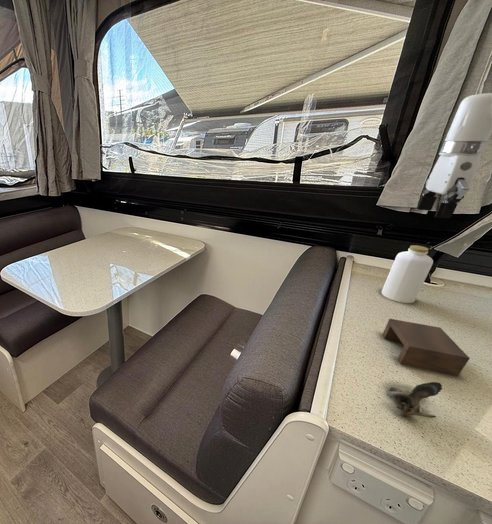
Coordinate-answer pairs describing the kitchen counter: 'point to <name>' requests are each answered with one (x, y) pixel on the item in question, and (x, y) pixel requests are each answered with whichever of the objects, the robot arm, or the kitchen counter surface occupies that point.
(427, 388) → the eagle figurine
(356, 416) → the kitchen counter surface
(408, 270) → the potion bottle
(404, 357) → the shelf
